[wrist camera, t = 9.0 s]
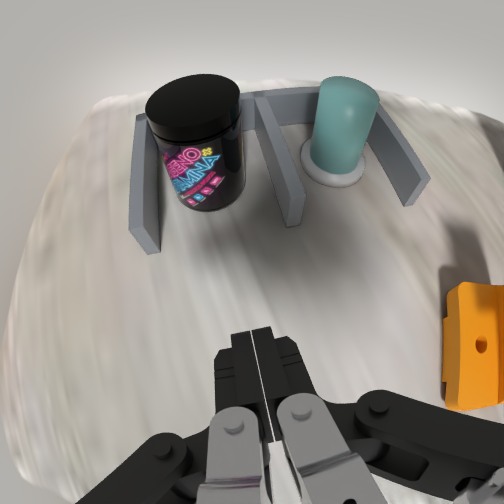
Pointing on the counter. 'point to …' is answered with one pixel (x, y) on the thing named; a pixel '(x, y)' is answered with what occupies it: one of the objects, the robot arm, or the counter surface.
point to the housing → (279, 158)
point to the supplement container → (200, 139)
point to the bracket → (474, 346)
